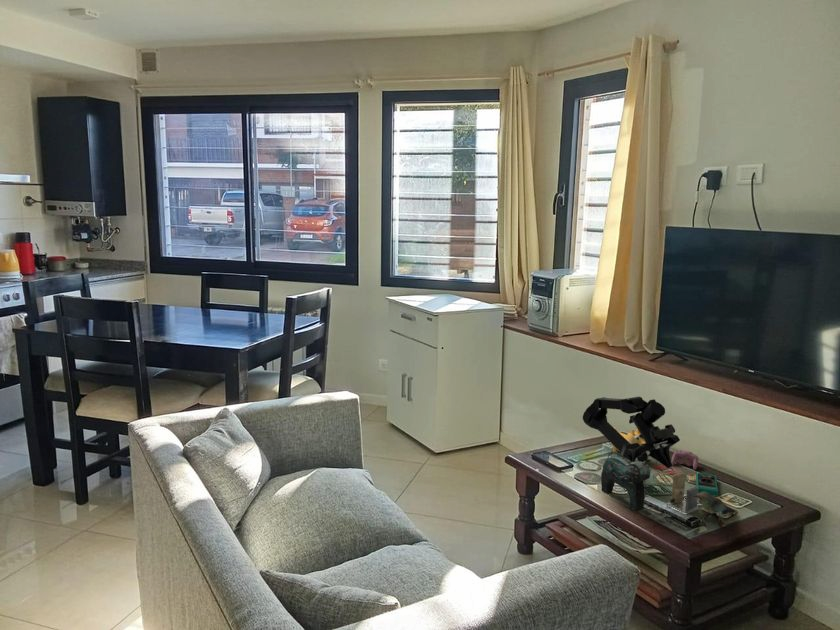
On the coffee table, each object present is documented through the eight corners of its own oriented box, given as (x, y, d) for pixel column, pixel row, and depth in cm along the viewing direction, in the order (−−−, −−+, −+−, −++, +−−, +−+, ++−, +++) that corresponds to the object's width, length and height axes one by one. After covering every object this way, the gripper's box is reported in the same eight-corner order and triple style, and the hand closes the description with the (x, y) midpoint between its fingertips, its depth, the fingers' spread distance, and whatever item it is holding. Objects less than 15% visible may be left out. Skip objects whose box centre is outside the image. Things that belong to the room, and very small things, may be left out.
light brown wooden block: (668, 502, 224) (670, 475, 222) (678, 498, 227) (680, 471, 225) (674, 505, 222) (676, 478, 220) (684, 501, 225) (686, 474, 223)
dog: (639, 466, 258) (641, 436, 255) (603, 449, 275) (605, 421, 273) (653, 463, 261) (655, 433, 259) (617, 446, 279) (619, 418, 276)
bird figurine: (720, 504, 224) (705, 465, 216) (746, 517, 216) (732, 476, 207) (697, 530, 220) (681, 491, 211) (723, 544, 212) (707, 504, 203)
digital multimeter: (716, 481, 245) (716, 474, 245) (717, 497, 232) (718, 490, 231) (695, 478, 248) (695, 471, 248) (695, 494, 235) (696, 486, 234)
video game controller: (697, 471, 257) (700, 454, 259) (696, 470, 253) (698, 452, 255) (671, 465, 262) (674, 449, 264) (670, 464, 258) (672, 447, 260)
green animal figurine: (649, 510, 221) (653, 456, 218) (635, 514, 219) (639, 459, 215) (609, 487, 239) (612, 437, 235) (595, 491, 236) (598, 440, 233)
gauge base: (666, 506, 225) (667, 484, 223) (679, 501, 228) (681, 479, 227) (684, 514, 218) (686, 492, 217) (697, 509, 222) (699, 487, 221)
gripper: (643, 422, 223) (667, 463, 216) (677, 413, 233) (702, 452, 226) (624, 437, 231) (647, 476, 224) (657, 427, 241) (681, 465, 234)
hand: (670, 467), depth 227 cm, fingers closed
